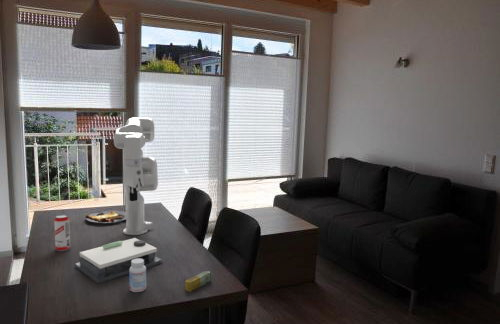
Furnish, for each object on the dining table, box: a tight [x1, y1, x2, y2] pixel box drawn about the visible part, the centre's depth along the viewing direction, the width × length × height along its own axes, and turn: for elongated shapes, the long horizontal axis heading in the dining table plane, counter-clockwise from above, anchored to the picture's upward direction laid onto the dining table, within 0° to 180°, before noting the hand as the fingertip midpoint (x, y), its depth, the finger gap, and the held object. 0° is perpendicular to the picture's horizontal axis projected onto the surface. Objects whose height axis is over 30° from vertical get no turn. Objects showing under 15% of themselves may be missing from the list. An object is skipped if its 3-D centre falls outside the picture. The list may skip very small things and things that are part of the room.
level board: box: [79, 237, 158, 269], centre depth 174 cm, size 26×18×3 cm
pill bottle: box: [128, 258, 147, 293], centre depth 152 cm, size 6×6×11 cm
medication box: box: [184, 270, 211, 293], centre depth 157 cm, size 12×3×4 cm, turn 144°
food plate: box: [84, 210, 126, 224], centre depth 238 cm, size 25×23×4 cm
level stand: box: [74, 252, 163, 284], centre depth 174 cm, size 29×21×5 cm
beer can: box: [53, 214, 71, 252], centre depth 189 cm, size 6×6×16 cm
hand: (133, 200), depth 191 cm, fingers closed
